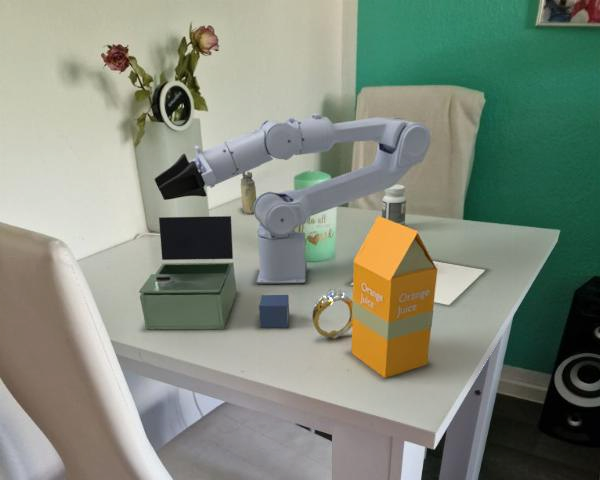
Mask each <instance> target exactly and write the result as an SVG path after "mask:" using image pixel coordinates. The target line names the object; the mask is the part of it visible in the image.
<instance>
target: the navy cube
mask: <svg viewBox="0 0 600 480" xmlns="http://www.w3.org/2000/svg"><path fill="white" fill-rule="evenodd" d="M260 296H261V297H260V300H259V304H258V313H259V315H258V316H259V326H260V328H261V329H281V328H282V329H283V328H284V329H285V328H289V321H290V298H289V296H290V295H289V294H261V295H260Z"/></svg>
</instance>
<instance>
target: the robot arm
mask: <svg viewBox="0 0 600 480" xmlns="http://www.w3.org/2000/svg"><path fill="white" fill-rule="evenodd" d="M431 140H432V139H431V132H430V129H429V128H428V126H426V125H425V124H424V123H423V122H414V121H410V120H405V119H403V118H401V117H385V116H378V117H369V118H363V119H357V120H351V121H350V120H349V121H341V122H336V123H333V122H332V120H330V119H329V117H327V116H322V114H321V113H312V114H311V117H310V118H309V117H307V118H299V119H295V118H294V117H292V116H290V117H286V121H285V122H281V121H279V120H275V119H274V120H273V119H272V120H268V119H266V120H264V121H263V122H262V123H261V124H260V125H259V127H258V128H257V129H254V130H253V131H250V132H245V133H243V134H241V135H239V136H236V137H234V138H232V139H229V140H227V141H224V142H221V143H220V144H218V145H215V146H212V147H210V148H208V149H205V150H203V151H201V148H200V146H199V145H195V146H193V147H194V150H195V158H192V159H191V160H188V158H187V155H186V153H182V154H181V156H179V158H178V159H177V160H176V162H174V163H173V164H172V166H170V167H169V168H167V169H166V170H164V171H163V172H162V173H160V174H158V175H157V176H156V177H154V182H155V184H156V186H157V188H158V191H159V192H160V194H161V196H162V198H163V200H164V201H167V200H174V199H179V198H185V197H203V198H204V197H205V198H206V197H207V193H206V189H205V187H209V188H214V187H215V186H216V185H218V184H220V183H222V182H225V181H227V180H230V179H233V178H235V177H237V176H239V175H242V173H244V172H245V173H247V172H250V171H251V170H253V169H256V168H259V167H260V166H262V165H264V164H266V163H268V162H271V161H273V160H274V159H277V160H284V161H287V160H290V159H291V158H292V157H293V156H294V155H295V156H301V155H310V154H317V153H326V152H329V151H330V150H331V149H332V148H333V146H334V145H335V144H341V143H354V142H355V143H357V142H369V141H370V142H371V141H374V142H375V143H377V150H376V154H375V159H374V160H373V162H372V164H369V165H367V166H366V165H365V166H363V167H361V168H358V169H355V170H352V171H349V172H347V173H343V174H341V175H338V176H335V177H332V178H329V179H327V180H324V181H321V182H318V183H315V184H313V185H309V186H307V187H304V188H300V189H293V190H292V189H290V190H284V191H281V192H274V191H265V192H263V193H261V194H260V195H258V196H257V197H256V201H255V203H254V213H253V214H254V217H255V219H256V220H257V221H258V222H259V226H258V228H257V231H256V232H257V245H258V246H257V247H258V258H259V259H258V260H259V272H258V275H257V279H256V284H259V285H261V284H264V285H265V284H304V283H305V284H306V276H307V271H308V261H307V252H306V248H307V247H306V246H307V245H306V233H305V232H303V231H302V232H300V231H296V229H297V228H298V227H300V226H303V225H305V224H306V223H307V222H308V220H309V218H310V217H311V216H316V215H317V214H320V213H323V212H326V211H329V210H332V209H334V208H337V207H340V206H343V205H345V204H349V203H352V202H354V201H357V200H359V199H362V198H365V197H368V196H371V195H373V194H376V193H380V192H382V191H385V189H388V188H390V187H392V186H394V185H397V183H398V182H399V181H400V180H401V179H403V177H405V175H406V174H407V173H408V172H409V171H411V169H412V168H413V167H414V166H416V165H419V164H420V163H423V161H424V159H425V157H426V154H427V152H428V150H429V148H430V145H431Z"/></svg>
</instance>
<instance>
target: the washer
mask: <svg viewBox="0 0 600 480" xmlns="http://www.w3.org/2000/svg"><path fill="white" fill-rule="evenodd" d="M159 276H172V277H173V279H174V285H173V286H172V287H169V288H156V287H155V285H154V279H155V278H156V277H159ZM236 287H237V286H236V275H235V265H234V262H181V263H180V262H179V263H177V262H176V263H172V262H171V263H162V264H161V265H160V267H159V268H158V269H157V271H156V272H155V274H154V273H152V274H150V275H149V277H148V278H147V279H146V281H145V282H144V283H143V285H142V286H141V288H140V289H139V290H138V292H139V294H140V295H139V299H140V305H141V309H142V315H143V320H144V325H145V329H146V330H149V331H150V330H224V329H225V327H226V324H227V321H228V319H229V316H230V313H231V311H232V310H231V309H232V307H233V305H234V302H235V299H236V296H237V288H236Z"/></svg>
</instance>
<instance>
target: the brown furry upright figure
mask: <svg viewBox="0 0 600 480" xmlns="http://www.w3.org/2000/svg"><path fill="white" fill-rule="evenodd" d="M241 175H242V178H241V179H240V194H241V206H242V212H244V213H245V214H249V215H250V214H254V203H255V201H256V199H257V190H256V189H257V188H256V185H255V183H256V182H255V181H254V179H253V172H252V171H251V172H250V171H246V172H244V173H242V174H241Z"/></svg>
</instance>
